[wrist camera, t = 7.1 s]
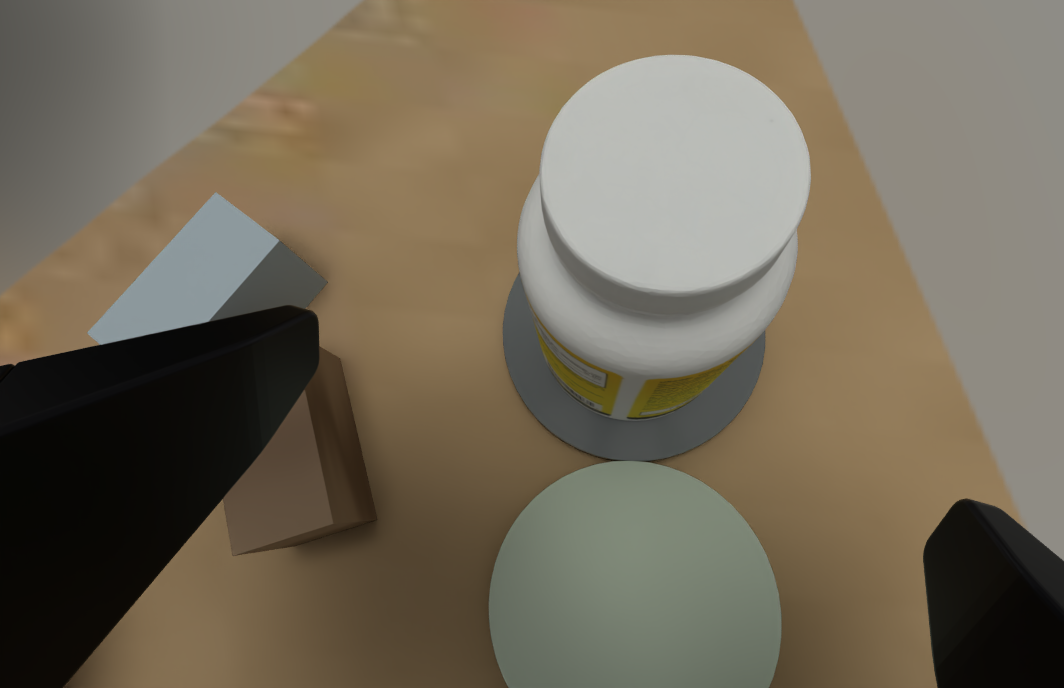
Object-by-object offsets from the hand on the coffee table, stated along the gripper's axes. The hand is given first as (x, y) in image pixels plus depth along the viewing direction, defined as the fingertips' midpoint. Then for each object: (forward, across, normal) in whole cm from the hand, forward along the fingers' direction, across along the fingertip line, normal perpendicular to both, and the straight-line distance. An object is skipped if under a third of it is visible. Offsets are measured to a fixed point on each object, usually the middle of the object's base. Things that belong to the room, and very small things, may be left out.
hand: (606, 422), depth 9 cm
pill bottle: (+12, 0, +5) cm, 13 cm away
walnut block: (+8, +10, +11) cm, 16 cm away
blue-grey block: (+10, +14, +8) cm, 19 cm away
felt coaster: (+7, -2, +12) cm, 14 cm away
